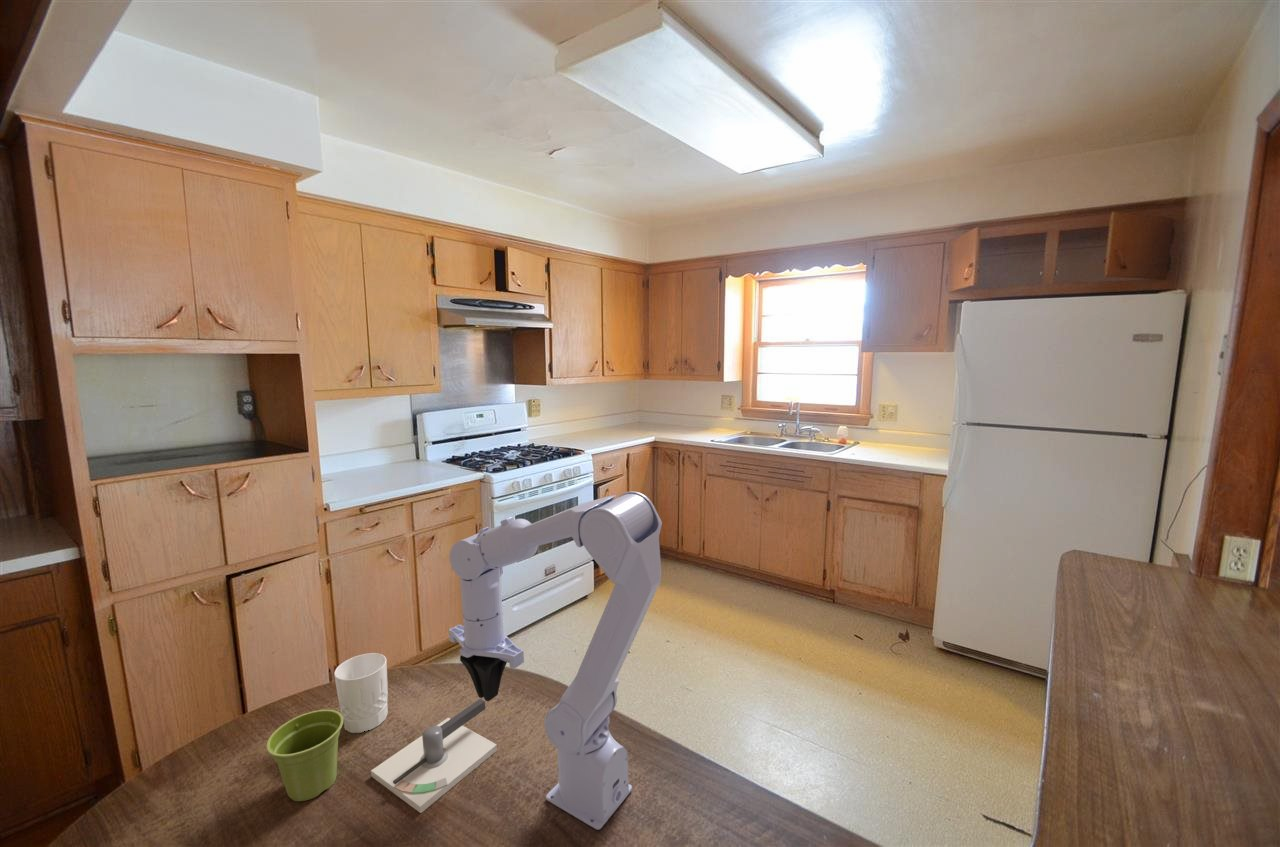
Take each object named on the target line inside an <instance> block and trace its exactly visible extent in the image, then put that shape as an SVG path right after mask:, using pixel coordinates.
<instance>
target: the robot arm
mask: <svg viewBox="0 0 1280 847" xmlns="http://www.w3.org/2000/svg"><path fill="white" fill-rule="evenodd" d="M616 497H617V495H615V494H614V495H608V496H605V497H600V498H598V499H597V498H596V499H594V500H590V501H586V502H583V503H580V504H578V505H576V506H573V507H570V508H568V509H565V510H562V511H561V512H558V513H555V514H553V515H551V516H548V517H546V518H545V517H544V518H543V519H540V520H538V521H535V522H533V523H531V522H530V521H529V520H527V519H526V518H525V519H524V518H516V519H514V517H513V516H510V517H507V518H505V519H502V520H501V521H500V525H497V526H495V527H492V528H490V526H485V527H483V528H480V529H479V530H478V533H476V534H473V535H471V536H469V537H466V538H464V539H459V540H458V541H457V542H456V543H454V544H453V545H452V546H451V548H450V551H449V562H450V566H451V568H452V570H453V572H454V573H455V575H456V576H457V577H459V578H460V579H459V580H460V581H459V582H460V595H461V596H460V597H461V608H462V609H461V610H462V620H463V621H462V622H463V625H462V624H457V625H455V626H453V627H451V628H449V629H448V639H449V642H451V643H453V644H454V643H456V642H457V643H458V644H459V645H460V647H461V648H460V649H459V660H460V662H461V663H462V664H463V666H464V667H465V669H466V670H467V672H468V673H469V675H470V678H471V680H472V683H473V686H474V688H475V691H476V694H477V697H478V698H479V699H484V701H485V702H490V701H491V700H493V699H494V698H495V697H497V696H498V695H499V692H500V685H501V681H502V676H503V673H504V670H505V667H506V666H507V663H508V664H509V667H510V668H511V669H514V670H515V669H516V668H518V667H520V666H521V665H523V664H524V663H525V656H524V654H525V653H524V649H521V648H520V647H518V646H517V645H516V644H515V643H514V642H513V641H512V640H511V639H510V638H509V637H508V636H507V635H506V634H505V633H504V615H503V614H504V613H503V601H502V600H503V599H502V585H501V584H502V583H501V582H502V581H501V580H502V579H501V577H502V575H503V573H504V570H503V569H504V567H506V566H509V565H513V564H516V563H519V562H522V561H525V560H528V559H532V558H533V557H534V555H535V554H536V553H537V551H538V548H539V546H543V545H547V544H550V543H553V542H557V541H561V540H565V539H567V538H568V539H569V538H572V539H573V542H574V543H575V545H576V547H578V548H582V547H584V548H585V550H586V551H587V553H588V554H589V555H590V556H591V558H592V559H593V560H594V561H595V563H596V564H597V565H598V566H599V567H600V569H601V570H602V571H603V573H604V574H605V575H606V577H607V578H608V579H609V580H610V582H611V583H612V584H613V583H614V586H613V588H612V591H611V593H610V596H609V598H608V601H607V603H606V604H605V607H604V610H603V612H602V615H601V617H600V619H599V621H598V624H597V626H596V629H595V631H594V633H593V636H592V638H591V640H590V641H589V642H590V643H589V644H588V648H586V652H585V655H584V657H583V658H582V661H581V664H580V665H579V669H578V671H577V673H576V675H575V677H574V678H573V680H572V682H570V684H569V685H568V687H567V688H566V690H565V691H564V693H563V695H561V697H560V699H559V702H558V703H557V704H556V705H555V706H554V707H552V708H551V709H549V711H548V712H547V713H546V714H545V717H544V730H545V734H546V736H547V738H548V740H549V742H550V743H551V744H552V745H553V747H554V748H555V749H556V750H557V751H556V752H557V766H558V767H557V772H558V783H557V784H555V785H554V787H553V788H551V789H550V791H549V792H548V793H547V794H546V795H545V800H546V801H547V802H549V803H552V804H553V806H556V807H558V808H559V809H560V810H563V811H565V812H566V813H568V814H569V815H571V816H573V817H575V818H576V819H578V820H580V821H581V822H583V823H585V824H586V825H588V826H589V827H591V828H593V829H595V830H601V829H602V828H603V827H604V825H605V824H606V823H607V822H608V821H609V819H610V818H611V817H612V816H613V814H614V813H615V812H616V810H617V809H618V808H619V807H620V805H621V804H622V803H623V802H624V800H625V799H626V798H627V797H628V795H630V793H631V792H632V790H633V786H632V785H631V784H630V783H629V759H628V758H629V757H628V756H629V755H628V751H627V750H626V748H625V747H624V746H623V745H622V744H620V743H618V742H617V741H616V740H615V738H613V736H612V734H611V732H610V729H609V726H610V725H609V724H610V722H611V721H610V714H611V713H612V712H613V711H614V710H615V709H616V706H617V703H618V696H617V689H618V687H619V684H620V679H619V678H618V676H619V674H620V671H621V669H622V667H623V664H624V662H625V660H626V658H627V656H628V654H629V652H630V649H631V647H632V645H633V643H634V641H635V638H636V636H637V634H638V632H639V630H640V628H641V625H642V623H643V622H644V619H645V617H646V615H647V614H648V611H649V608H650V606H651V604H652V602H653V599H654V598H655V595H656V593H657V590H658V588H659V587H660V585H661V581H662V562H661V548H660V547H661V546H660V533H661V530H662V525H663V522H662V519H661V517H660V516H659V513H658V511H657V509H656V507H655V506H654V504H653V502H652V500H651V499H650V498H649V497H648V496H647V495H645V494H643V493H641V492H639V491H633V490H632V491H625V492H624V493H622V494H620V495H619V496H618V497H617V498H616Z"/></svg>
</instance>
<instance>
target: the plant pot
mask: <svg viewBox="0 0 1280 847" xmlns="http://www.w3.org/2000/svg"><path fill="white" fill-rule="evenodd" d="M343 726H344V724H343V717H342V714H341V712H339V711H337V710H334V709H319V710H314V711H310V712H306V713H303V714H300V715H298V716H296V717H293V718H292V719H290V720H289V721H286V722H285V723H283V724H282V725H280V726H279V727H278V728H277V729H276V730H274V732H273V733H271V735H270V736H269V738H268V740H267V742H266V750H267V753H268V754H269V755H270V756H272V758H273V760H274V761H275V762H276V764H277V767H278V769H279V773H280V775H281V778H282V781H283V784H284V787H285V790H286V793H287V794H286V795H287V796H288V797H289V798H290V799H291V800H292V801H294V802H304V801H308V800H312V799H314V798H317V797H318V796H319V795H321V793H323V792H324V791H325V790H329V789H330V788H331V787H332V786H333V785H334V783H335V781H336V780H337V775H338V774H337V772H338V754H339V752H338V750H339V749H338V748H339V737H340V733H341V729H342V727H343Z"/></svg>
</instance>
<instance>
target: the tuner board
mask: <svg viewBox="0 0 1280 847" xmlns="http://www.w3.org/2000/svg"><path fill="white" fill-rule="evenodd" d="M450 719H451V718H450V717H447V718H446V719H444V720H442V721H441V722H439V723H438V724H437V725H436V726H439V727H440V726H441V725H443V724H444V723H446V722H447V721H449V720H450ZM443 748H444V756H443V758H442V759H441V760H439V761H438V762H436V763H431V764H430V763H426V762H425V763H424V764H422V765H421V766H419V767H418V768H417V769H415V770H414V771H413V772H411V773H410V774H409V775H407V776H406V777H405V778H403V779H402V780H400V781H399V782H398V783H396V784H394V783H393V781H394V780H395V779H396V778H398V777H399V776H401V775H402V774H403V773H405V772H406V771H407V770H409V769H410V768H411V767H413V766H414V765H416V764H417V763H418V762H420V761H421V760H422V759H424V750H423V738H422V735H421V736H419V737H418V738H416V739H415V740H414V741H412V742H410V743H409V744H408V745H406V746H405V747H403V748H402V749H400V750H399V751H397V752H396V753H394V754H393V755H392V756H390V757H388V758H387V759H385V760H384V761H383V762H382V763H380V764H378V765H377V766H375V767H374V768H373V769H370V774H371V775H370V776H371V778H372V779H374V780H375V781H377V782H378V783H380V785H382V786H383V787H385V788H386V789H387V790H389V791H390V792H391V793H393V795H395V796H397V797H398V798H400V799H401V800H402V801H404V802H405V803H406V804H408V806H410V807H412V808H413V809H414V810H416V811H417V812H418V813H420V814H422V813H423V812H424V811H426V809H428V808H430V806H431V805H433V804H434V803H435V802H436V801H437V800H439V799H440V798H442V796H443V795H446V793H447V792H448V791H450V790H451V789H452V788H453V787H454V786H456V785H458V783H460V782H461V781H462V780H463V779H464V778H466V777H467V776H468V775H469V774H470V773H472V772H473V771H475V769H476V768H478V767H479V766H480V765H482V763H484V762H485V761H486V760H488V759H489V758H490V757H491V756H492V755H493V754H495V753H496V752H497V751H498V744H497V743H494V742H493V741H491V740H489V739H488V738H486V737H485V736H482V735H480V734H478V733H477V732H475V731H473V730H472V729H470V728H468V727H466V726H464V725H462V726H461V727H460V728H458V729H457V730H455V731H454V732H453V733H451V734H450V735H448V736H447V737H446V738H444V739H443Z"/></svg>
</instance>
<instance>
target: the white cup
mask: <svg viewBox="0 0 1280 847" xmlns="http://www.w3.org/2000/svg"><path fill="white" fill-rule="evenodd" d="M387 668H388V664H387V657H386V656H385V655H384V654H381V653H377V652H376V653H375V652H369V653H363V654H359V655H355V656H353V657H351V658H350V657H349V658H347V659H346V660H345V661H343V662H342V663H339V665H338V666H337V667H336V668H335V670H334V672H333V675H334V680H335V681H334V682H335V689H336V695H337V699H338V705H339V709H340V714H341V715H342V717H343V728H344V731H346V730H347V732H348V733H350V734H360V733H365V732H369V731H371V730H372V729H375V728H376V727H379V726H380V725H381V724H382V723H383V722H384V721H386V718H387V717H388V713H389V710H388V696H389V693H388V686H389V685H388V669H387ZM368 730H369V731H368ZM364 731H365V732H364Z"/></svg>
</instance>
